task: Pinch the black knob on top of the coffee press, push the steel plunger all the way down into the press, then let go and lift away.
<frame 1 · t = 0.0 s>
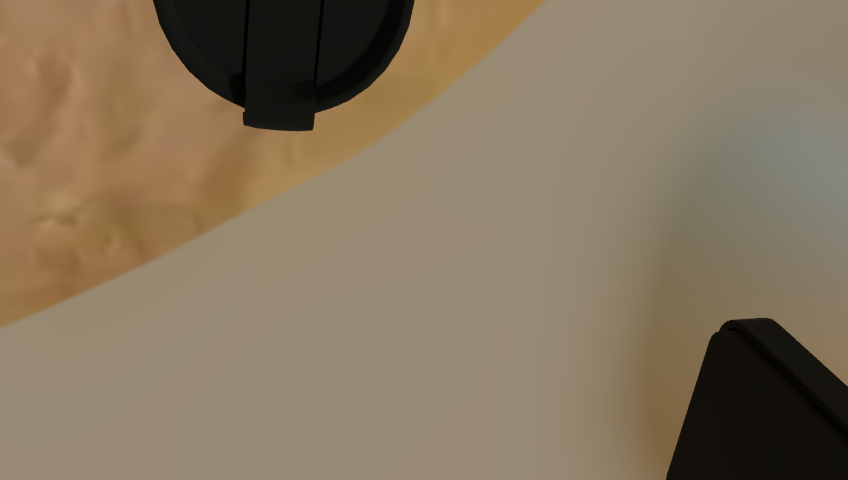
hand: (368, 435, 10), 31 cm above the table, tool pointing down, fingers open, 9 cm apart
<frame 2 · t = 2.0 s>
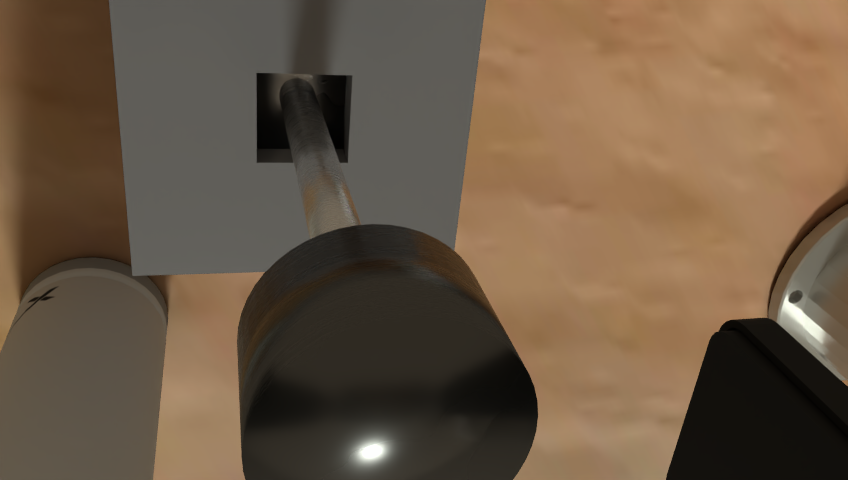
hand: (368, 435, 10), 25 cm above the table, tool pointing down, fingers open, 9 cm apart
plunger: (325, 195, 16), point 18 cm above the table, slide at 0.0 cm
travel mug: (92, 312, 36), on the table
press: (272, 10, 32), on the table
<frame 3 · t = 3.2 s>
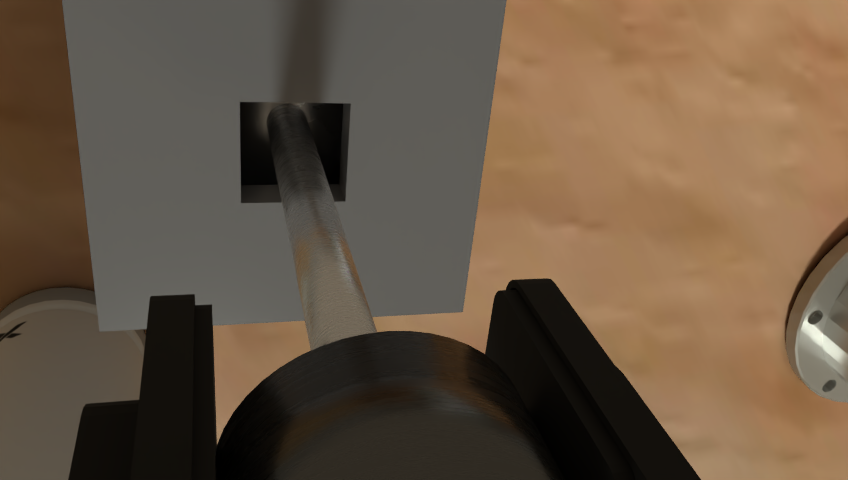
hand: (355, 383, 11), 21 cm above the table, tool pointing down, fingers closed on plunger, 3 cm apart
plunger: (321, 255, 14), point 18 cm above the table, slide at 0.0 cm, touching gripper
travel mug: (66, 345, 33), on the table
press: (259, 19, 29), on the table
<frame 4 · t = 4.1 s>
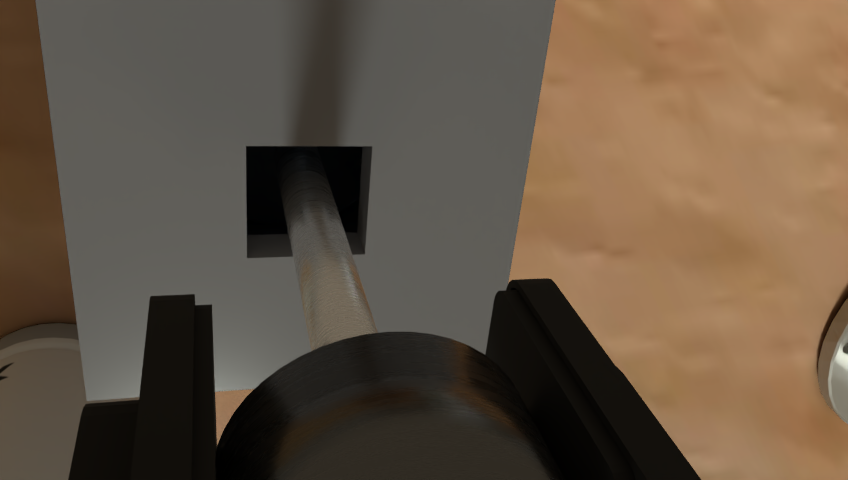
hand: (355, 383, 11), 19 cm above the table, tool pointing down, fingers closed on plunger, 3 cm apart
plunger: (322, 255, 14), point 15 cm above the table, slide at 2.6 cm, touching gripper
travel mug: (57, 382, 31), on the table
press: (265, 37, 27), on the table
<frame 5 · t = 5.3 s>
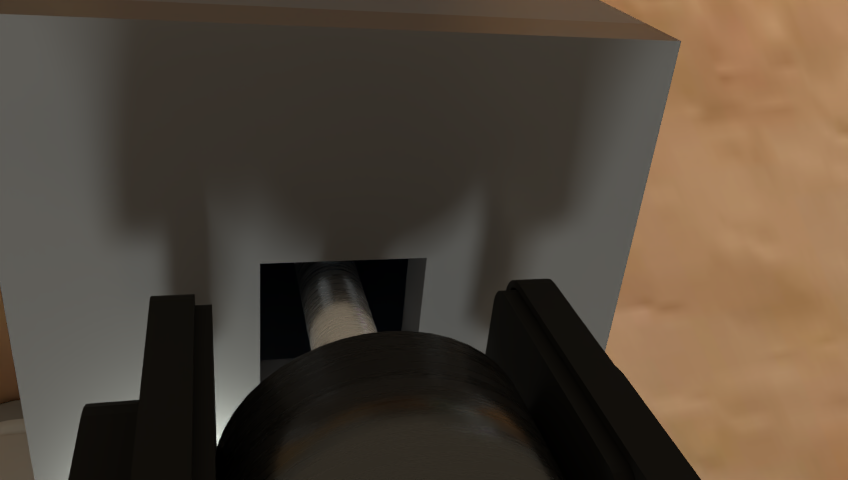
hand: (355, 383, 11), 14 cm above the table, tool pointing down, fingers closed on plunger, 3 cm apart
plunger: (322, 255, 14), point 11 cm above the table, slide at 7.0 cm, touching gripper
travel mug: (37, 462, 28), on the table
press: (274, 75, 23), on the table
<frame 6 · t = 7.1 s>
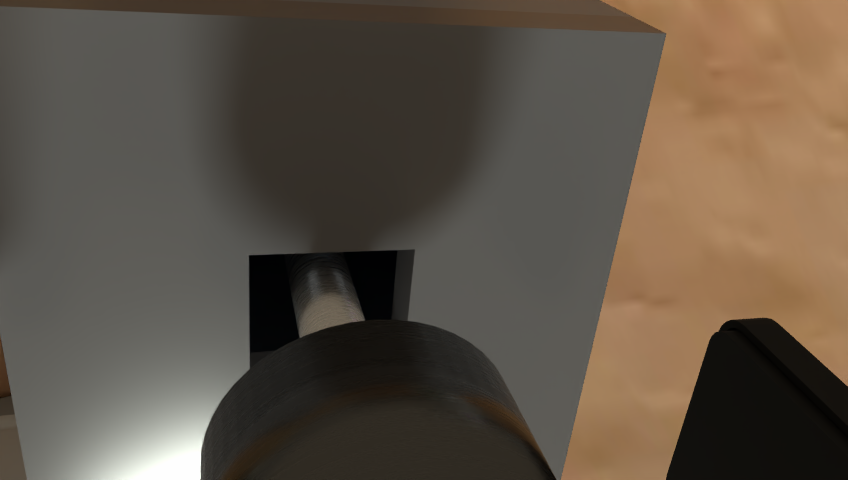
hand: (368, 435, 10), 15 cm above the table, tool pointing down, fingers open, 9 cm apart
plunger: (312, 248, 14), point 11 cm above the table, slide at 7.0 cm
travel mug: (30, 457, 28), on the table
press: (266, 70, 23), on the table
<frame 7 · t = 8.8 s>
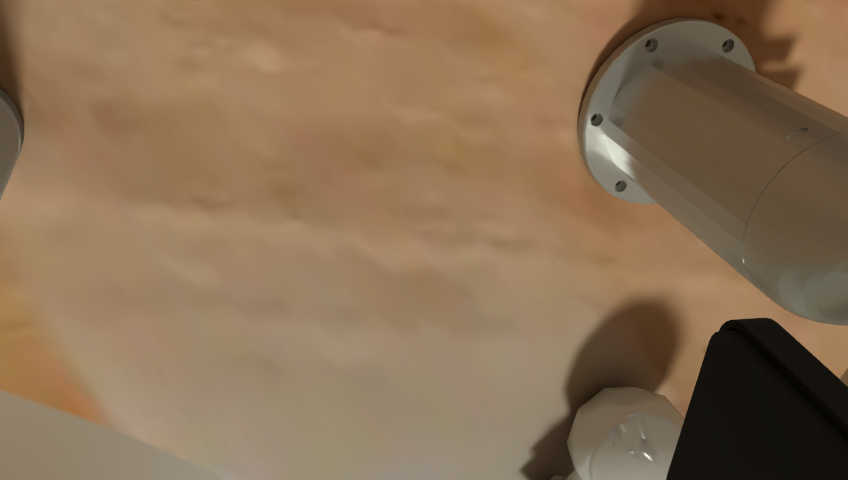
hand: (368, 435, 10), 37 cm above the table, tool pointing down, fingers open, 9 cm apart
potion bottle: (585, 433, 66), on the table
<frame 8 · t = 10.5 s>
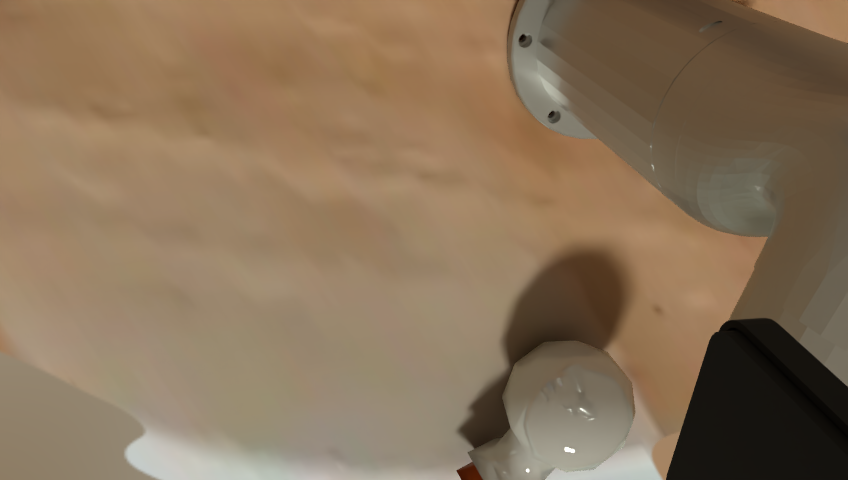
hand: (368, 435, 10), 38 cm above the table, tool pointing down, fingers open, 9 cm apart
potion bottle: (527, 393, 63), on the table
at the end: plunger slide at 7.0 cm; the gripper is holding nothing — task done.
